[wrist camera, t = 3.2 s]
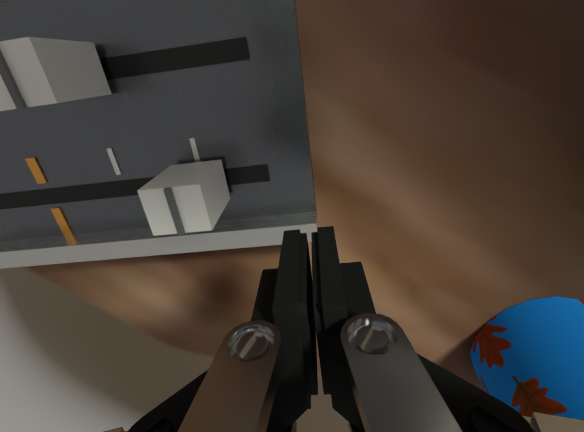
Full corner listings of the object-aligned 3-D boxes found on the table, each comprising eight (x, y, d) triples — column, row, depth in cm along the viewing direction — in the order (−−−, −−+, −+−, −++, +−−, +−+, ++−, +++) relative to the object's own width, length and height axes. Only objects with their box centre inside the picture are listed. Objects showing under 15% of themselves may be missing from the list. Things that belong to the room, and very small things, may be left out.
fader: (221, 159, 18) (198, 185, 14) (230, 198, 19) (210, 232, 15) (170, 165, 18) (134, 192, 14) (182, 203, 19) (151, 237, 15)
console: (290, -37, 16) (286, -62, 12) (316, 214, 22) (318, 241, 19) (-95, 29, 18) (-184, 22, 15) (26, 241, 24) (-18, 270, 21)
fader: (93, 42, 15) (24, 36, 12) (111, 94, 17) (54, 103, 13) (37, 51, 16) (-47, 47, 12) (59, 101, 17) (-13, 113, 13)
